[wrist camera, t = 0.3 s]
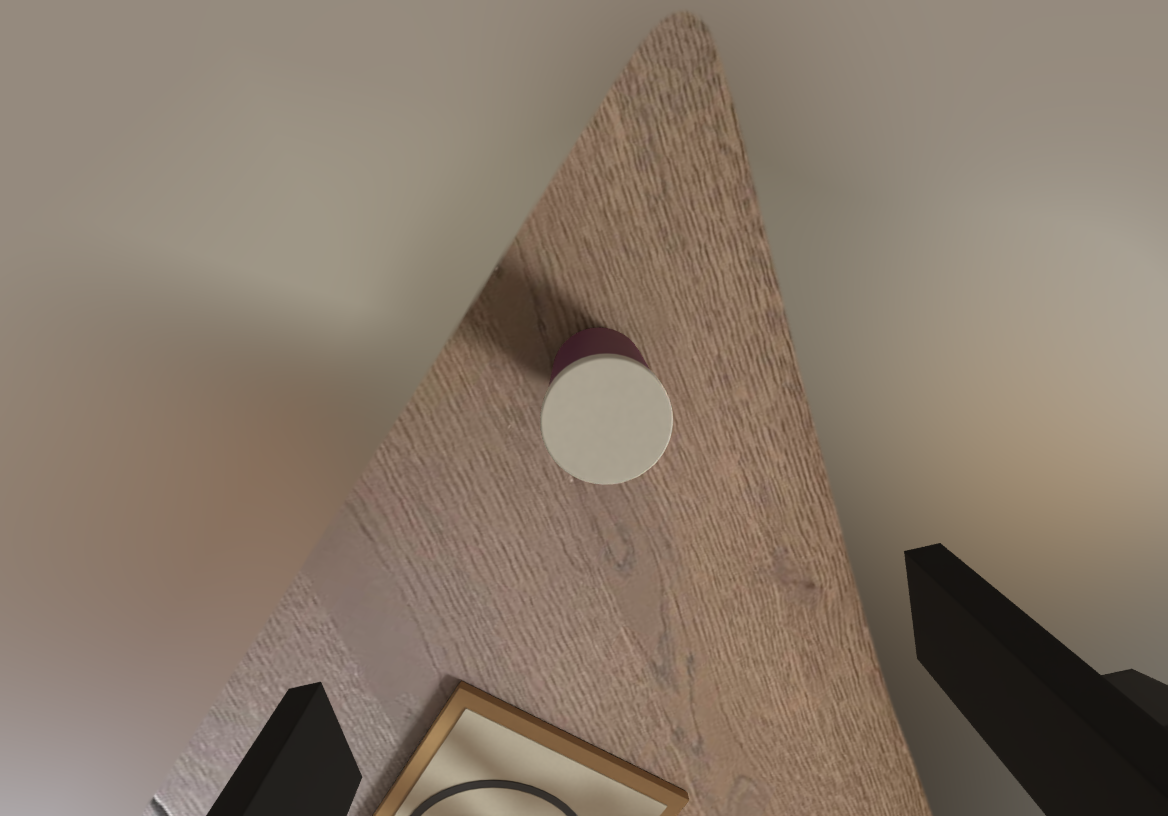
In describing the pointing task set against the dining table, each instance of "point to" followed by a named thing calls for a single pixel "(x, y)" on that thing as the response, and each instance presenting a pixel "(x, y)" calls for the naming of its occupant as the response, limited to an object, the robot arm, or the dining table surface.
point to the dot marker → (604, 409)
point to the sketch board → (518, 769)
